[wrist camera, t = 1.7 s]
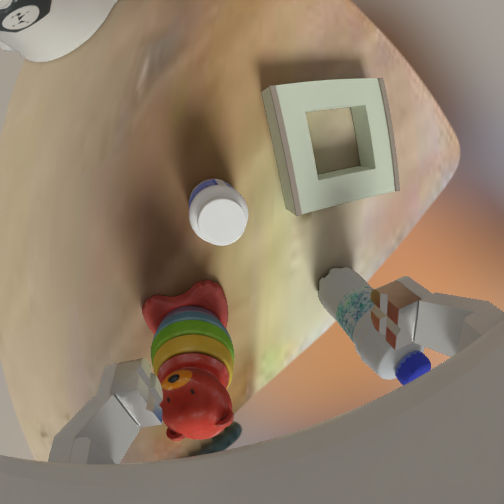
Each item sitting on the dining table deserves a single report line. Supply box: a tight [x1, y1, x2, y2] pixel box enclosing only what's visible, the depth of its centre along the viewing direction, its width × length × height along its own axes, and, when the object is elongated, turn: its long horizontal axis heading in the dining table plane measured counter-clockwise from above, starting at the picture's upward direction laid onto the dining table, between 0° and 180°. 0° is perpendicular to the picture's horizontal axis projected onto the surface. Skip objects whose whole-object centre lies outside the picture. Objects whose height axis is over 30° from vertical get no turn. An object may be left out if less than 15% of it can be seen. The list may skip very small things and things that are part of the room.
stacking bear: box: [142, 280, 234, 441], centre depth 29 cm, size 11×10×18 cm
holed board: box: [261, 78, 400, 216], centre depth 31 cm, size 14×14×4 cm
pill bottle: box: [189, 179, 248, 245], centre depth 28 cm, size 5×5×10 cm
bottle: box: [318, 267, 431, 385], centre depth 30 cm, size 7×7×20 cm
